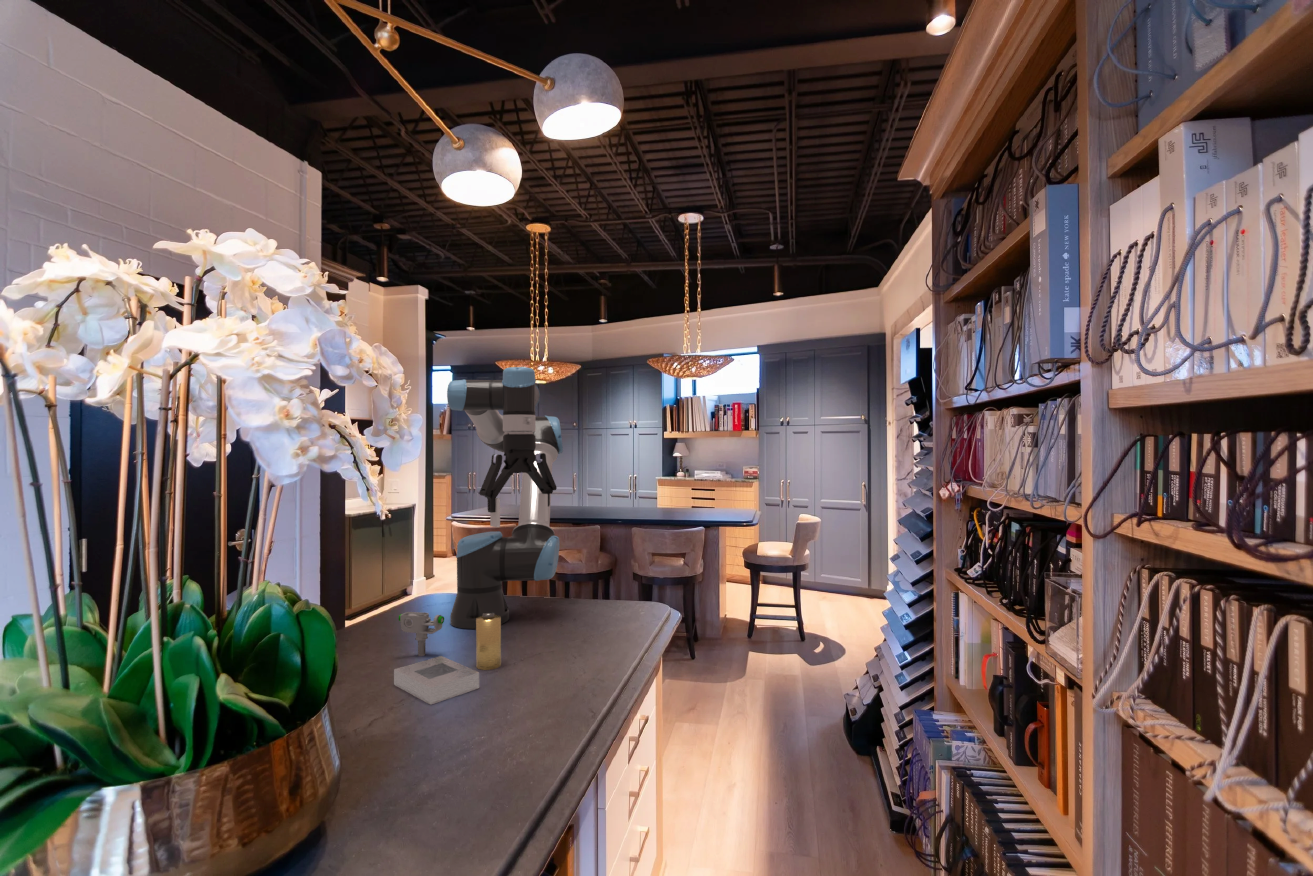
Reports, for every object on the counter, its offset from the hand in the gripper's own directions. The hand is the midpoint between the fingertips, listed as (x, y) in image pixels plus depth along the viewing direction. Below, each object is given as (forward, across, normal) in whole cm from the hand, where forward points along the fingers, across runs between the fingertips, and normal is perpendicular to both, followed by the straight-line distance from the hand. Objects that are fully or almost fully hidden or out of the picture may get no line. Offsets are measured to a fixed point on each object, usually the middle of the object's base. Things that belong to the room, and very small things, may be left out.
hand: (520, 523), depth 149 cm
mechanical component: (+29, -20, +9) cm, 36 cm away
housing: (+29, -27, -10) cm, 41 cm away
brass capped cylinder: (+29, -14, -8) cm, 33 cm away
